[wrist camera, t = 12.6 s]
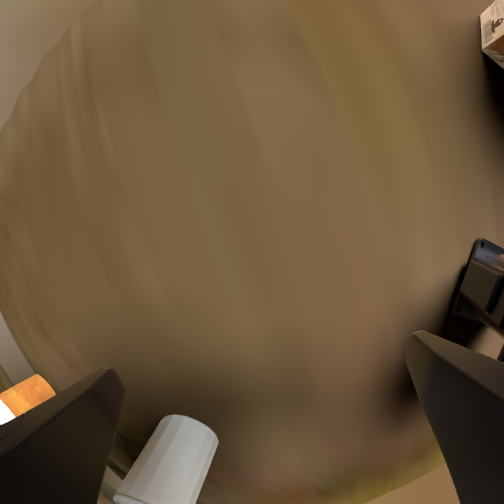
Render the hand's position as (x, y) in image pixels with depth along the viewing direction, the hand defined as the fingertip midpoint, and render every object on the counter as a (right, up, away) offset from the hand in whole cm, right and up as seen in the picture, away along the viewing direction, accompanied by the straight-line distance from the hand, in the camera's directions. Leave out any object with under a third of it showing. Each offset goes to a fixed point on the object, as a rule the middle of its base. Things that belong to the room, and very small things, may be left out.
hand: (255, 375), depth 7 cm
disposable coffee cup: (-35, -20, +24) cm, 47 cm away
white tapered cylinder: (-7, -17, +18) cm, 26 cm away
